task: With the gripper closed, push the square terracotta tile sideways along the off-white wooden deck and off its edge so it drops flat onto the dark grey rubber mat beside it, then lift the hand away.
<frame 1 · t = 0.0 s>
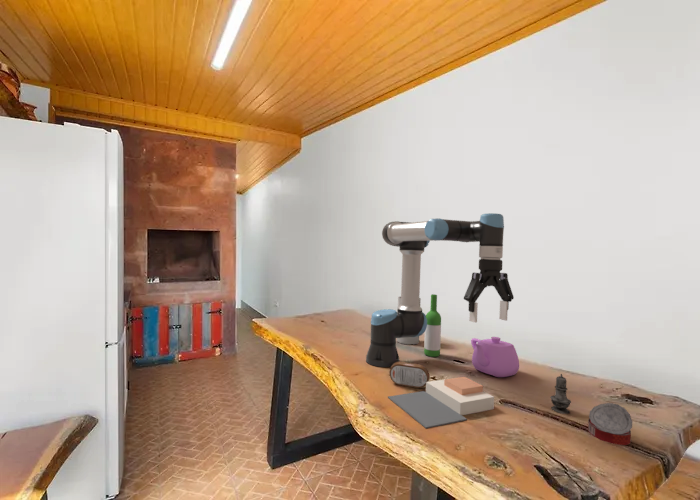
hand: (488, 320, 119), 28 cm above the table, tool pointing down, fingers open, 13 cm apart
dark grey turned piece: (560, 410, 115), on the table
wine bottle: (431, 355, 172), on the table
tile: (463, 388, 120), point 4 cm above the table, touching deck
cylinder vase: (407, 342, 196), on the table
teapot: (494, 372, 149), on the table
mat: (424, 408, 112), on the table
canned food: (608, 436, 99), on the table
tin: (408, 386, 131), on the table
deck: (458, 400, 119), on the table
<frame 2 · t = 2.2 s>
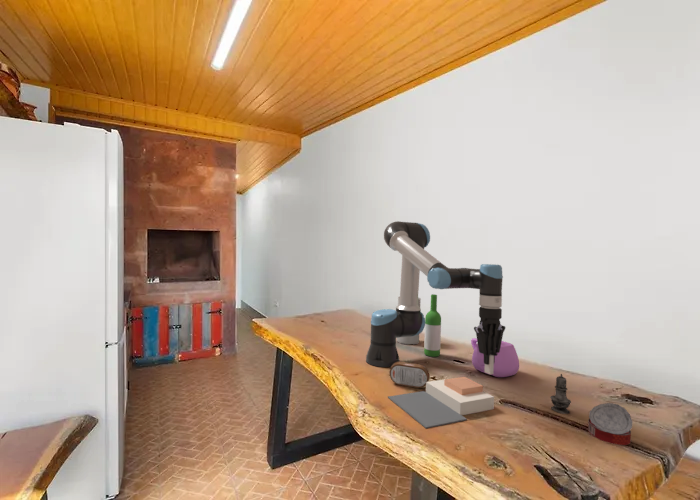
hand: (488, 372, 124), 8 cm above the table, tool pointing down, fingers closed
nothing on the table moved.
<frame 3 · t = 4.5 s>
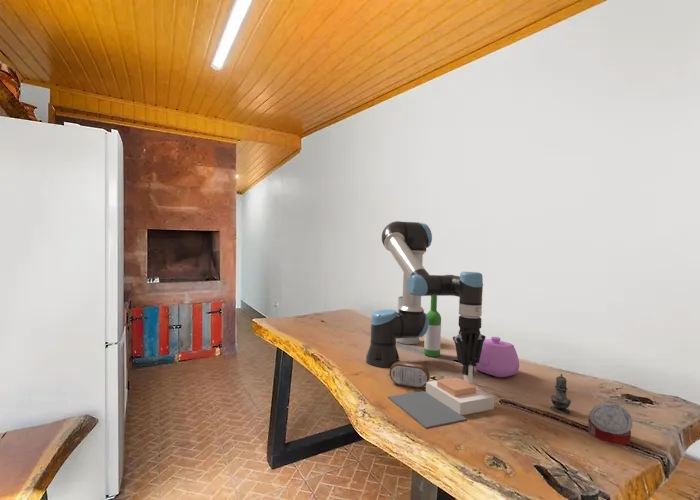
hand: (467, 383, 121), 5 cm above the table, tool pointing down, fingers closed
tile: (456, 389, 118), point 4 cm above the table
everything else where it was.
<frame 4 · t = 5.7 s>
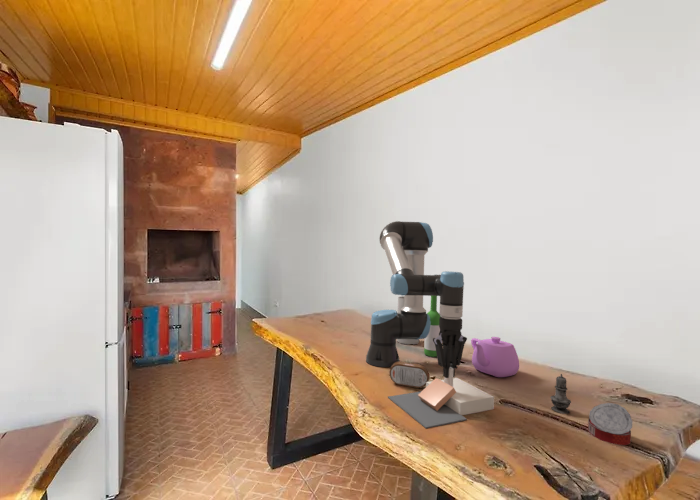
hand: (448, 386, 117), 5 cm above the table, tool pointing down, fingers closed
tile: (437, 395, 115), point 3 cm above the table, tilted 33°, touching gripper
everything else where it was.
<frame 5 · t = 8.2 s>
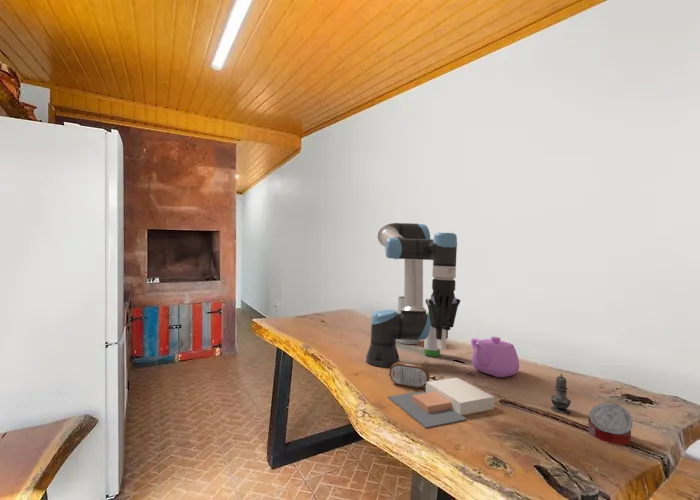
hand: (441, 348, 116), 18 cm above the table, tool pointing down, fingers closed
tile: (430, 404, 114), resting on mat
everything else where it was.
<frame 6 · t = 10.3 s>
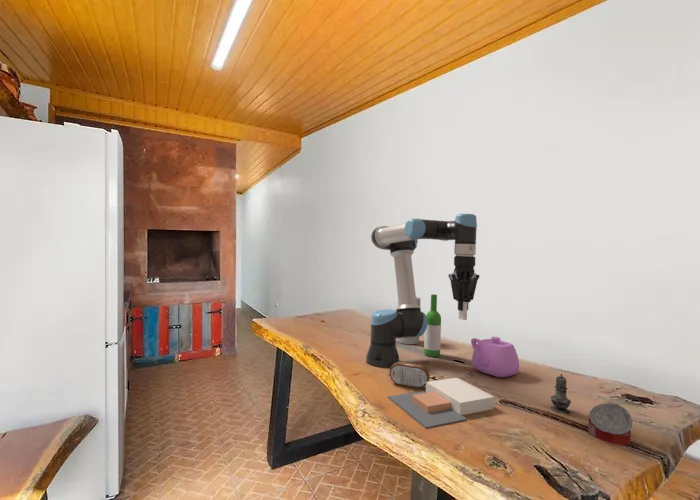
hand: (462, 319, 128), 26 cm above the table, tool pointing down, fingers closed
nothing on the table moved.
at the end: tile inside the target area (2.9 cm from its centre), resting on mat; tile tilted 0°; tile moved 14.1 cm from its start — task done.
